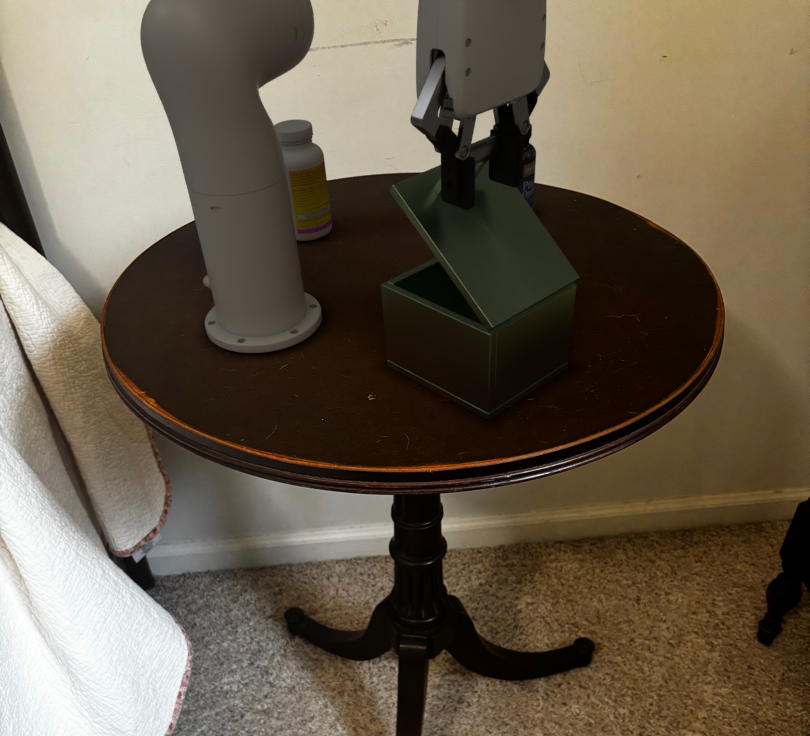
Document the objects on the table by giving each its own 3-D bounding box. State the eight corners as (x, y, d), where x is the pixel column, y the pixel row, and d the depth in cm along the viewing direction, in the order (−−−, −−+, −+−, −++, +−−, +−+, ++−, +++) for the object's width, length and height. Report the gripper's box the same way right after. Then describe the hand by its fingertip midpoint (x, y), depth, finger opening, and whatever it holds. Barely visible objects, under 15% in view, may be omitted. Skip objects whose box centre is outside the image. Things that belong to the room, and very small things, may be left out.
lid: (388, 190, 66) (413, 146, 62) (483, 151, 72) (512, 108, 67) (488, 332, 66) (520, 299, 62) (575, 282, 72) (610, 248, 67)
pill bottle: (530, 227, 101) (535, 134, 93) (482, 225, 102) (483, 134, 94) (534, 207, 105) (540, 117, 98) (488, 206, 106) (490, 116, 99)
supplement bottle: (343, 226, 104) (331, 120, 95) (312, 247, 100) (297, 138, 91) (302, 217, 107) (287, 113, 98) (271, 236, 103) (252, 130, 94)
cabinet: (386, 366, 80) (380, 284, 74) (466, 321, 85) (466, 241, 79) (488, 421, 73) (490, 334, 66) (568, 368, 78) (577, 284, 72)
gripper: (525, -99, 60) (513, 154, 73) (356, -64, 52) (376, 214, 65) (608, -93, 56) (580, 174, 69) (439, -53, 48) (443, 241, 61)
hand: (481, 191), depth 67 cm, fingers closed on lid, 5 cm apart
